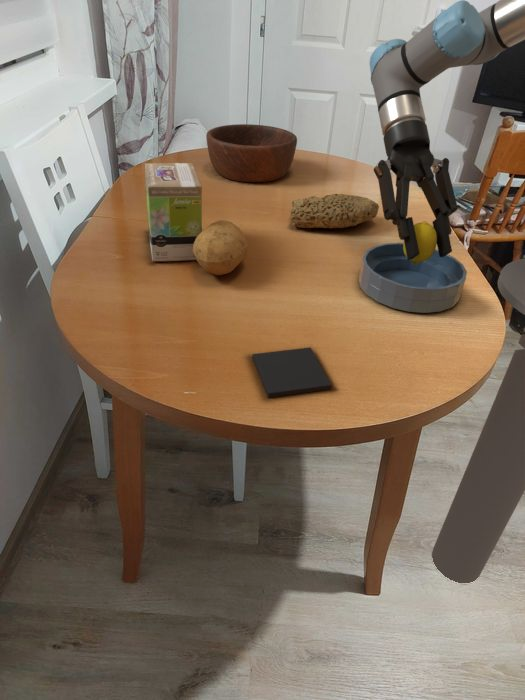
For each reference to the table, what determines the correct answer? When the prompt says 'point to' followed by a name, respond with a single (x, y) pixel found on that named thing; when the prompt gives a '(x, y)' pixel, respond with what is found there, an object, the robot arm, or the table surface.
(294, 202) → the sponge
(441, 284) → the basin
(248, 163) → the wooden bowl
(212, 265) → the potato
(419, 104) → the robot arm
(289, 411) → the table surface
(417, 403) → the table surface
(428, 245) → the lemon
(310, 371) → the mat
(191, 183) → the tea box
